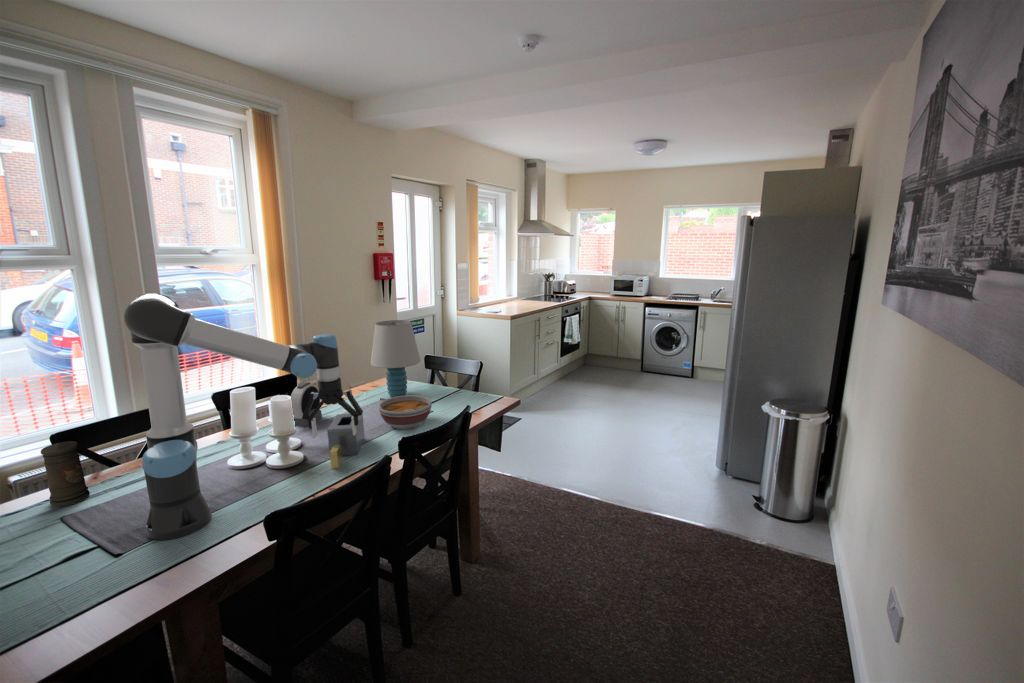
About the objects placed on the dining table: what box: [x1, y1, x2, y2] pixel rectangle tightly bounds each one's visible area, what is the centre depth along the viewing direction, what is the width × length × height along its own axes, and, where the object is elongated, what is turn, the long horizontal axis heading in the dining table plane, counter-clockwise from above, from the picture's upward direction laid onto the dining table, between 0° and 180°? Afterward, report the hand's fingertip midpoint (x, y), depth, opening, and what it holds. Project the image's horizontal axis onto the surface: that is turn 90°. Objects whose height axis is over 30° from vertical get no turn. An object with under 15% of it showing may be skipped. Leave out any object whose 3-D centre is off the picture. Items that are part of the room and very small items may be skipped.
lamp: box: [370, 319, 421, 398], centre depth 243 cm, size 25×25×39 cm
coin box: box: [326, 413, 365, 457], centre depth 182 cm, size 10×16×11 cm, turn 8°
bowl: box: [378, 394, 433, 430], centre depth 206 cm, size 23×23×10 cm
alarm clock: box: [290, 381, 323, 428], centre depth 209 cm, size 16×10×18 cm, turn 171°
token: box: [329, 445, 343, 470], centre depth 168 cm, size 6×2×6 cm, turn 8°
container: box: [40, 440, 91, 508], centre depth 145 cm, size 9×9×18 cm
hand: (335, 435), depth 167 cm, fingers open, 13 cm apart
